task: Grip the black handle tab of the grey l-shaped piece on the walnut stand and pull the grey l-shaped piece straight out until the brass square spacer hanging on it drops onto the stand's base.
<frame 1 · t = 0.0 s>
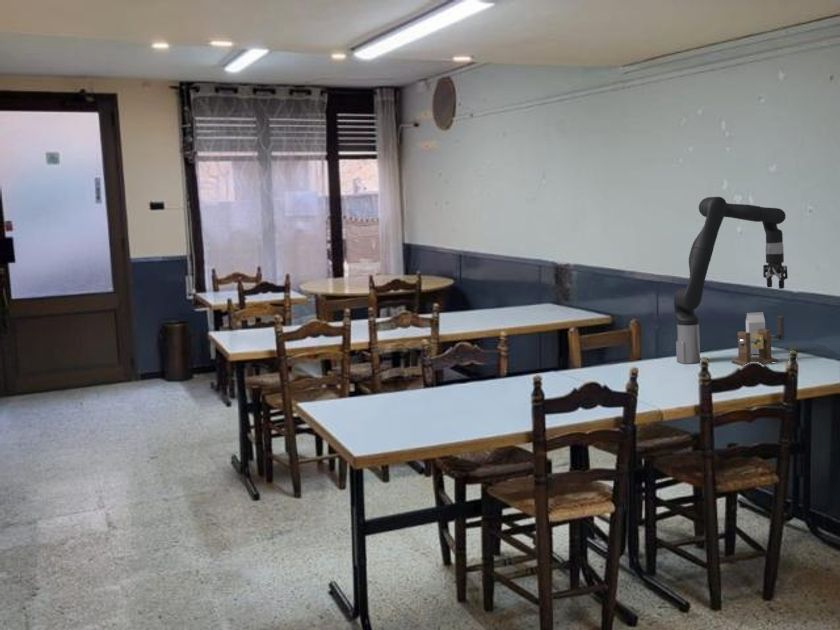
hand: (775, 287, 385), 29 cm above the table, fingers open, 8 cm apart
grey l-shaped piece: (760, 330, 365), point 14 cm above the table, slide at 0.0 cm, touching spacer
milk carton: (756, 353, 386), on the table
spacer: (757, 347, 365), point 6 cm above the table, touching grey l-shaped piece
stand: (755, 362, 366), on the table
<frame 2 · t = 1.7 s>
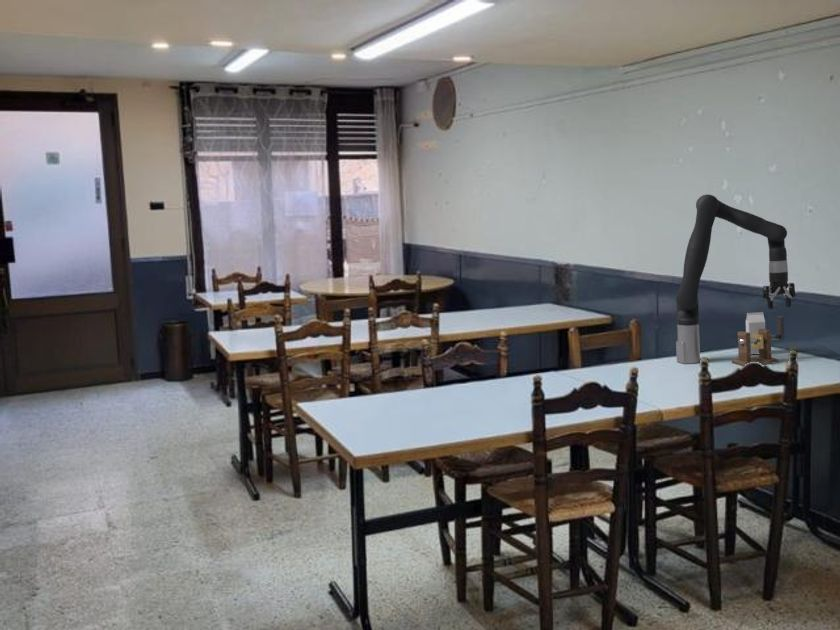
hand: (779, 308, 365), 23 cm above the table, fingers open, 8 cm apart
nothing on the table moved.
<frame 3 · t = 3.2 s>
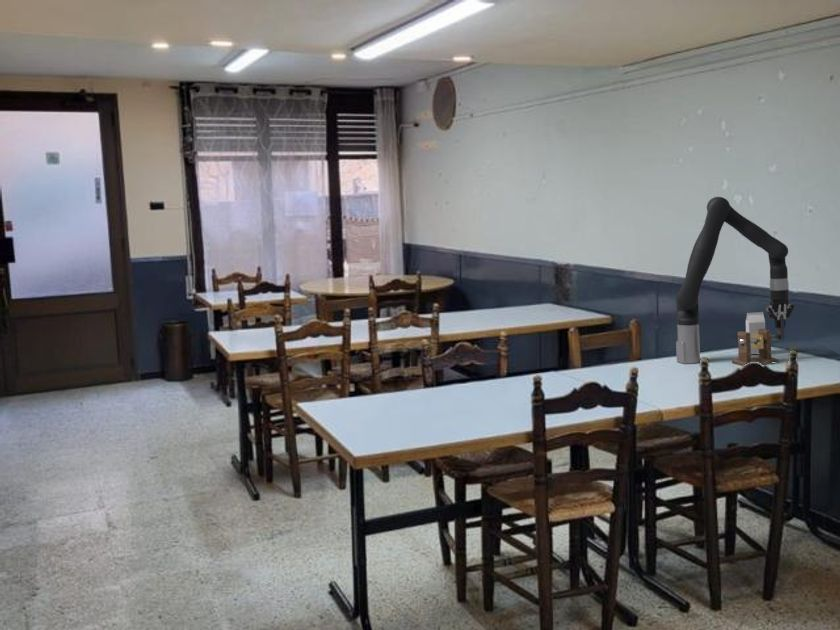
hand: (780, 327, 367), 14 cm above the table, fingers closed on grey l-shaped piece
grey l-shaped piece: (760, 330, 365), point 14 cm above the table, slide at 0.0 cm, touching gripper, spacer
everything else where it was.
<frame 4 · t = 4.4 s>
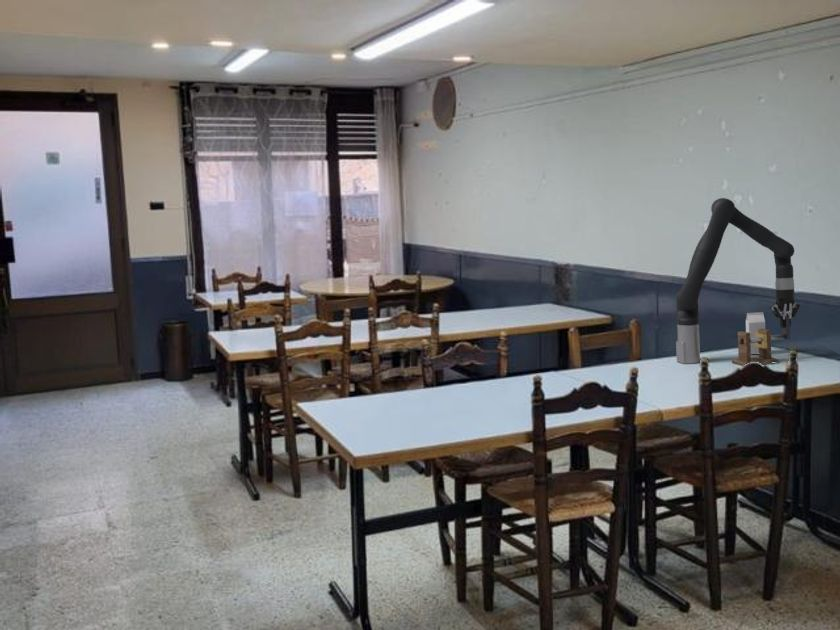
hand: (785, 327, 367), 14 cm above the table, fingers closed on grey l-shaped piece
grey l-shaped piece: (766, 329, 365), point 14 cm above the table, slide at 2.7 cm, touching gripper
spacer: (761, 347, 365), point 7 cm above the table, touching stand
everything else where it was.
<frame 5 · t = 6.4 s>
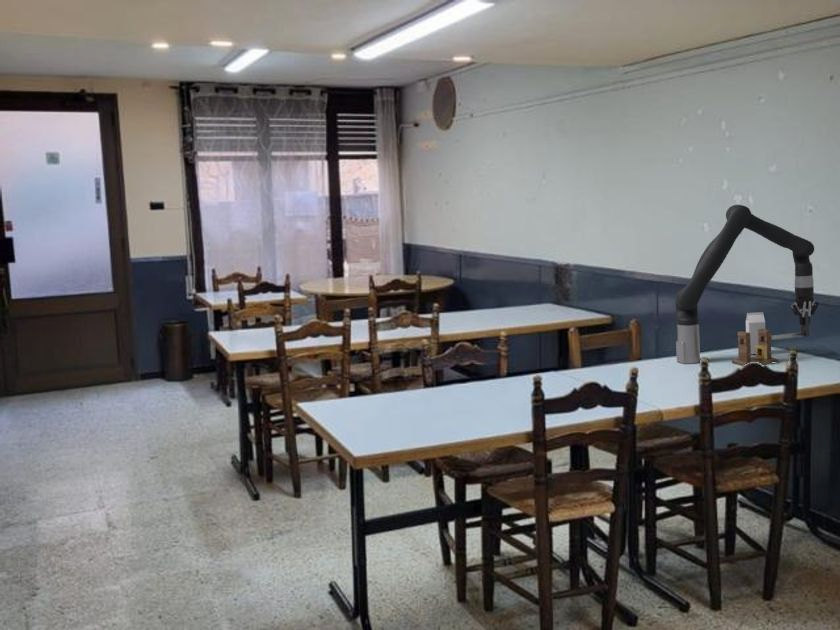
hand: (804, 324, 369), 14 cm above the table, fingers closed on grey l-shaped piece
grey l-shaped piece: (785, 327, 367), point 14 cm above the table, slide at 12.3 cm, touching gripper
spacer: (761, 358, 366), point 1 cm above the table, touching stand
everything else where it was.
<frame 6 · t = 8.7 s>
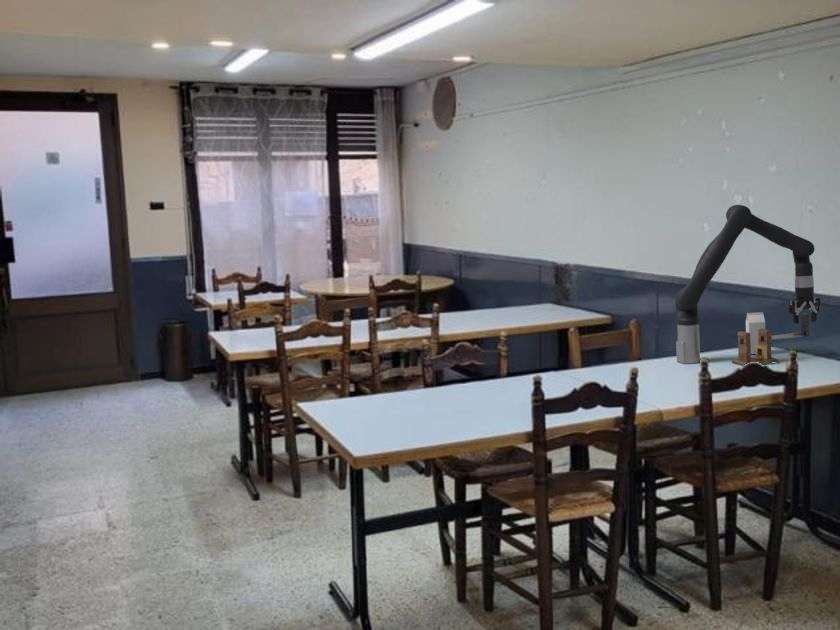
hand: (805, 322, 369), 15 cm above the table, fingers open, 8 cm apart
grey l-shaped piece: (786, 327, 367), point 14 cm above the table, slide at 12.4 cm
everything else where it was.
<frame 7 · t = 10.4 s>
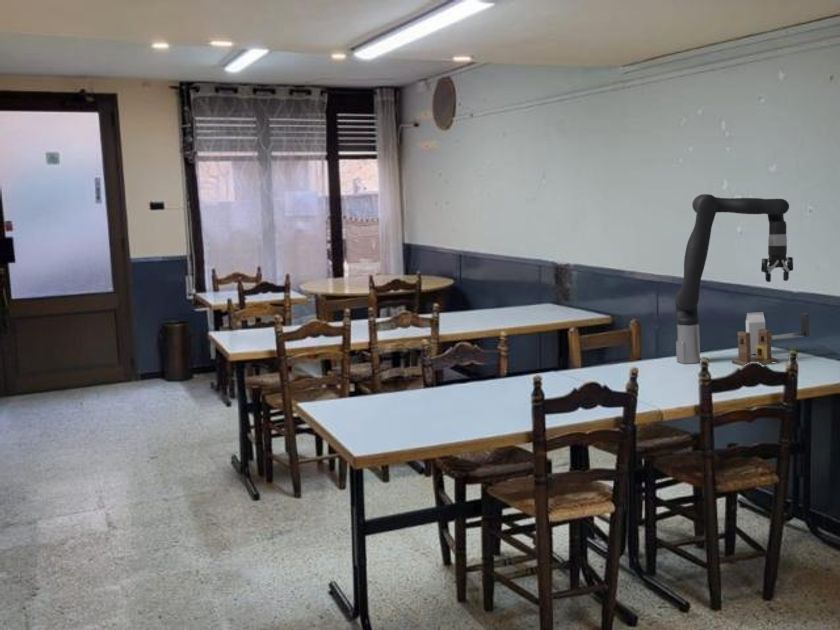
hand: (777, 281, 371), 34 cm above the table, fingers open, 8 cm apart
nothing on the table moved.
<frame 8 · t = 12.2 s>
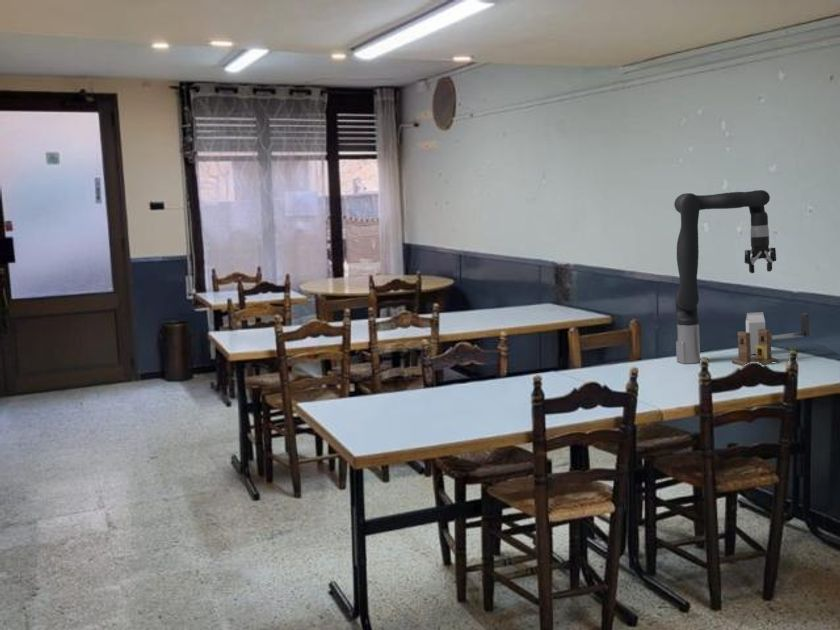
hand: (760, 272, 373), 38 cm above the table, fingers open, 8 cm apart
nothing on the table moved.
at the end: grey l-shaped piece slide at 12.4 cm; spacer point 1.5 cm above the table; spacer touching stand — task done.
